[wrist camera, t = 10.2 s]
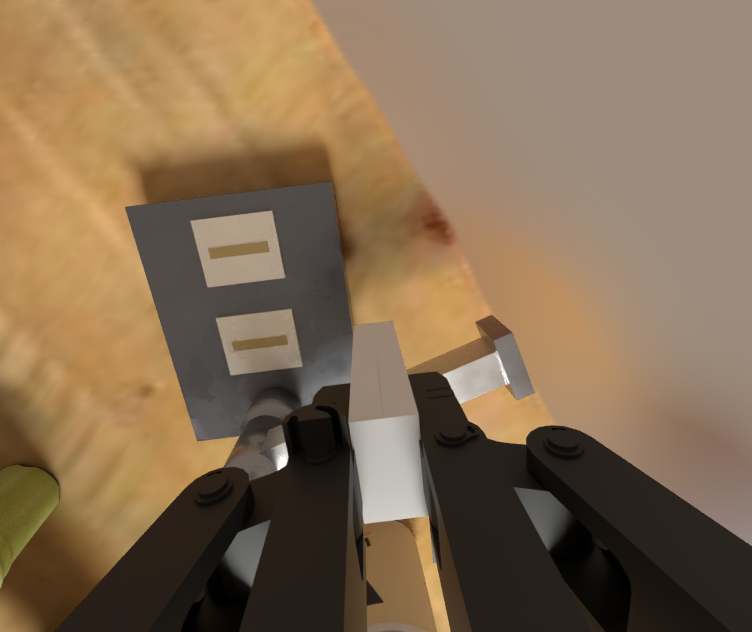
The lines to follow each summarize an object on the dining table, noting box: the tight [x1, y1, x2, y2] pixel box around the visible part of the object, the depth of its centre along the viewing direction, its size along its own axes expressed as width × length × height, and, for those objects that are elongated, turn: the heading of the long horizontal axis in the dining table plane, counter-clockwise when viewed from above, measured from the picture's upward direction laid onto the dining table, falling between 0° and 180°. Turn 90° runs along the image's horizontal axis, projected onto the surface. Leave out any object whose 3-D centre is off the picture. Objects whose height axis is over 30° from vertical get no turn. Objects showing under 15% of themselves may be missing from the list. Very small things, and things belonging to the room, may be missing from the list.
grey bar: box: [223, 315, 535, 481], centre depth 25 cm, size 21×4×6 cm, turn 115°
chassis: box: [125, 181, 354, 441], centre depth 29 cm, size 15×20×6 cm
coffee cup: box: [363, 520, 437, 632], centre depth 35 cm, size 9×9×12 cm
